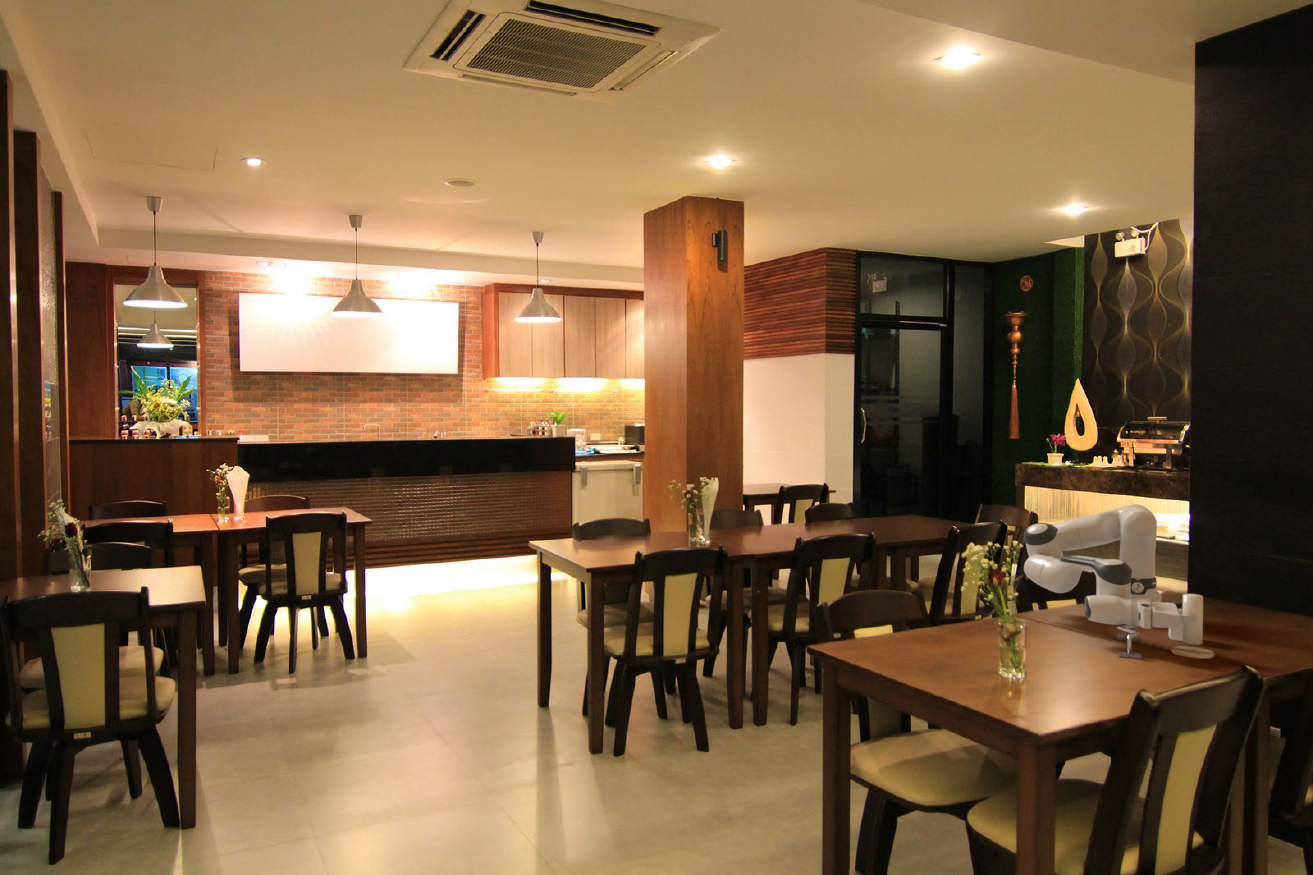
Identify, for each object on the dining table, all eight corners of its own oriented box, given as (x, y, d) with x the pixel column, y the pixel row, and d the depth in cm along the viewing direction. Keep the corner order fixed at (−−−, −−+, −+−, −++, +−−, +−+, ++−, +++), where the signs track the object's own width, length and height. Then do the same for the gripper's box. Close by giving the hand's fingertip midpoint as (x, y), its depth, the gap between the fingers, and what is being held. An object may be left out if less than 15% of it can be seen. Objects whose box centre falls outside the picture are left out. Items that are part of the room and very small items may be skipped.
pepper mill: (1181, 639, 272) (1182, 593, 272) (1201, 641, 270) (1202, 594, 269) (1182, 643, 267) (1183, 596, 267) (1203, 645, 265) (1203, 597, 265)
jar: (1179, 642, 282) (1179, 604, 281) (1161, 636, 290) (1161, 599, 289) (1205, 641, 283) (1206, 603, 282) (1187, 635, 291) (1187, 598, 291)
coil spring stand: (1116, 637, 289) (1116, 617, 289) (1137, 639, 286) (1137, 619, 286) (1118, 656, 266) (1118, 635, 266) (1141, 659, 264) (1141, 637, 264)
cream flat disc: (1170, 647, 276) (1170, 644, 276) (1212, 651, 271) (1212, 648, 271) (1172, 656, 266) (1172, 653, 266) (1216, 660, 261) (1216, 657, 261)
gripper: (1141, 615, 284) (1192, 620, 277) (1144, 630, 265) (1199, 634, 259) (1141, 595, 283) (1193, 599, 277) (1144, 608, 265) (1199, 612, 259)
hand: (1196, 616), depth 268 cm, fingers closed on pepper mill, 5 cm apart
